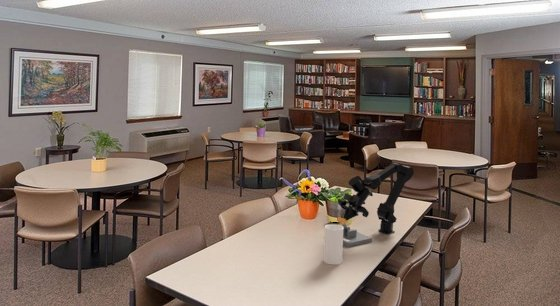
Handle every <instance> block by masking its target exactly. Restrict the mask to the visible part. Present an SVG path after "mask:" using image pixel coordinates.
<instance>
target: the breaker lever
mask: <svg viewBox="0 0 560 306" xmlns="http://www.w3.org/2000/svg"><path fill="white" fill-rule="evenodd" d="M337 221H338V222H339V224H340V225H341V226H343V227H344V229H345V231H346V233H347V232H348V231H349V229H348V227H349V226H347V223H348V222H347V221H348V220H347V221H346V219H344V218H341V217H338V218H337Z"/></svg>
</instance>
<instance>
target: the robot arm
mask: <svg viewBox="0 0 560 306" xmlns="http://www.w3.org/2000/svg"><path fill="white" fill-rule="evenodd" d="M414 172H415V171H414V168H413V167H412V166H407V165H402V164H400V163H396V162H392V163H390V164H389V165H388V166H386V167H385V168H384V169H382V170H381V171H379V172H377V173H376V174H372V175H369V176H366V177H365V178H364V179H362V178H361V176H360V175H356V176H355V177H352V178H350V179H349V181H348V185H349V186H350V187H351V189H352V190H353V191H354V192H356V194H352V195H351V194H348V193H346V192H345V193H344V196H343V198H342V199H339V200H338V201H337V204H338V205H339V207H341V209H342V210H344V211H345V214H344V219H346V221H349V220H350V219H352V218H355V217H358V216H359V214H360V213H361V214H362V217H365V218H368V217H369V215H370V214H369V213H370V212H369V211H368V209H366V207H364V206H363V205H365V204H366V202H365V201H366V200H367V199H368V197H373V191H372V190H377V189H378V188H379V187H380V186H381V184H382V182H383V181H385V180H387V179H388V178H389V177H391V176H392V175H394V174H396V180H395V182H394V184H393V186H392V188H391V189H390V192H389V194H388V196H387V198H386V200H385V201H384V202H383V203H382V202H380V203H379V205H378V207H377V208H376V209H377V210H376V213H377V217H378V220H380V226H379V227H380V229H378V232H380V233H384V234H386V235H387V234H388V235H389V234H392V233H395V230H394V229H393V228H394V224H395V223H396V222H397V220H398V219H397V217H396V216H395V214H394V213H395V205H396V202H397V201H398V199H399V196H400V194H401V192H402V191H403V188H404V187H405V184H406V183H407V182H409V181H410V180H411V179H412V177H413V175H414Z"/></svg>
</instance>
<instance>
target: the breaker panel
mask: <svg viewBox="0 0 560 306" xmlns="http://www.w3.org/2000/svg"><path fill="white" fill-rule="evenodd" d="M347 227H348V229H349V231H348V232H347V233H346V231H345V229H344V227H343V246H345V247H347V248H350V247H356V246H359V245H363V244H369V243H371V242H373V238H372V237H371V236H368V235H366V234H363V233H361V232H358V230H357V229H351V227H350V226H347Z"/></svg>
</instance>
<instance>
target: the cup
mask: <svg viewBox="0 0 560 306" xmlns="http://www.w3.org/2000/svg"><path fill="white" fill-rule="evenodd" d="M323 242H324V244H323V262H324V263H325V264H328V265H332V264H333V265H334V266H336V265H341V264H342V263H343V252H344V251H343V246H344V245H343V226H342V224H338V223H331V224H325V226H324V241H323Z"/></svg>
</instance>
